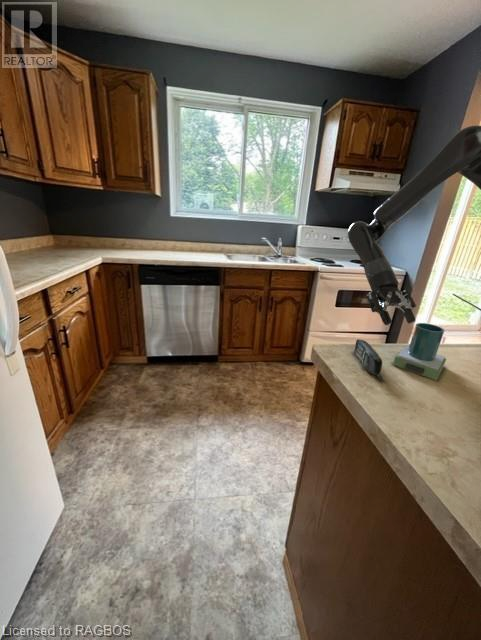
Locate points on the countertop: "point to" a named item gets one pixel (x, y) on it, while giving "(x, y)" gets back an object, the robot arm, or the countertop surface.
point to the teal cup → (425, 341)
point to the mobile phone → (368, 357)
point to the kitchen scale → (420, 364)
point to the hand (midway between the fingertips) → (400, 323)
